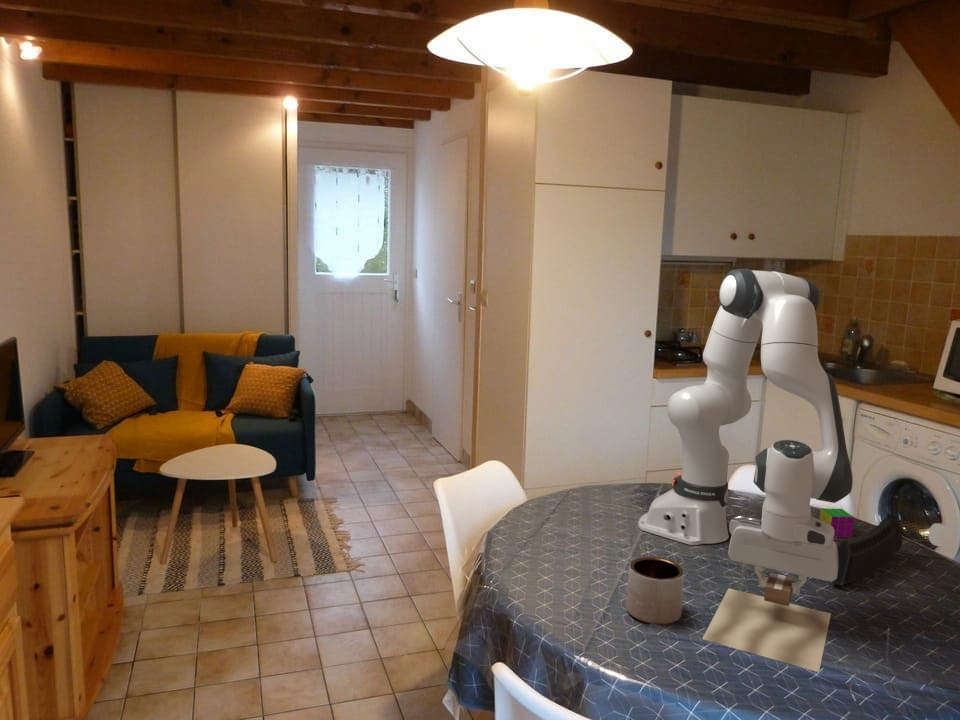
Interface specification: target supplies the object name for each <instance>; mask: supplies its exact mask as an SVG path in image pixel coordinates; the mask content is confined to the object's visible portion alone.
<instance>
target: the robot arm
mask: <svg viewBox="0 0 960 720" xmlns="http://www.w3.org/2000/svg"><path fill="white" fill-rule="evenodd" d="M718 300H719V303H720V306H719V308H718V310H717V313H716V315H715V317H714V319H713V323H712V326H711V329H710V331H709V334H708V337H707V340H706V343H705V346H704V349H703V353H702V361H703V363H704V364H705V365H706V366H707V367H706V368H707V374H706V379H705V381H704V382H703V383H702V384H695V385H690V386H687V387H684V388H682V389H680V390H678V391H676V392H675V393H673V394H672V395H671V396H670V397H669V399H668V402H667V405H666V406H667V407H666V409H667V411H666V412H667V417H668V419H669V421H670V422H671V423H672V425H673V426H674V427H676V429H677V430H678V433H679V436H680V440H681V445H682V461H681V462H682V465H681V471H680V472H677V473H676V474H675V476H674V478H673V480H672V483H671V487H672V489H670V490H668V491H666V492H665V493H663V494H661V495H659V496H657V497H656V498H655V499H653V501H652V502H651V504H650V506H649V507H648V508H649V509H648V512H646V513H644V514H643V515H641V517H640V518H639V519H638V523H637V526H638V528H639V530H641V531H644V532H646V533H650V534H653V535H657V536H660V537H664V538H666V539H670V540H673V541H676V542H680V543H683V544H685V545H686V544H687V545H689V546H698V545H704V544H705V545H707V544H718V543H722V542H726V541H727V540H728V539H729V537H730V535H731V537H730V540H729V546H728V552H727V555H728V557H729V559H730V560H731V561H733V562H737V563H742V564H747V565H752V566H754V572H755V573H756V574H755V575H757V577H758V579H759V582H758V587H760V588H764V589H765V586H766V583H767V581H768V578H769V576H768V577H767V576H765V575H764V573H763V569H764V568H766V569H771V570H774V571H779V572H784V573H788V574H793V575H798V582H797V583H795V582H794V583H792V587H791V594H792V596H793V595H794V596H799V595H800V593H801V592H800V591H801V587H803V586H804V585H805V583H807V580H808V578H812V579H817V580H820V581H821V580H822V581H825V582H826V581H827V582H830V583H832V582H833V581H834V580H835V579H837V576H838V549H837V546H838V545H837V543H836V542H835V541H834V539H835V538H834V534H835V533H834V528H833V527H832V526H831V525H829V524H827V523H824V522H822V521H820V520H819V519H818V518H816V517H814V516H813V515H812V510H811V509H812V508H811V499H814V500H816V501H821V502H822V501H823V502H826V503H827V502H828V503H831V504H834V503H838V502H839V501H841V500H842V499H844V498H846V497H847V496H849V495H850V493H851V492H852V489H853V484H854V476H853V475H854V474H853V469H852V466H851V462H850V459H849V458H850V457H849V454H848V450H847V449H848V448H847V443H846V438H845V437H846V436H845V429H844V423H843V416H842V411H841V405H840V401H839V399H840V398H839V394H838V393H839V392H838V389H837V386H836V382H835V379H834V377H833V375H831V374H829V373H828V372H826V371H825V369H824V367H823V366H822V364H821V361H820V359H819V358H820V357H819V355H818V354H819V353H818V349H819V347H818V346H819V339H818V338H819V337H818V335H819V333H818V332H819V331H818V321H817V315H816V313H817V310H818V308H819V305H820V300H821V295H820V290H819V287H818V285H817V284H816V283H815V282H814V281H812V280H810V279H808V278H806V277H803V276H800V275H799V276H795V275H792V274H787V273H783V272H780V271H766V270H751V269H749V268H738V269H731V270H730V271H728V273H726V275H725V276H724V277H723V279H722V281H721V282H720V285H719V290H718ZM760 335H761V340H760V341H761V343H760V363H761V365H760V366H761V370H762V372H763V375H764V376H765V377H766V379H767V380H768V381H769V382H771V384H773V385H775V386H776V387H778V388H779V389H782V390H783V391H785V392H788V393H790V394H793V395H795V396H797V397H800V398H802V399H803V400H805V401H806V402H808V403H810V404H811V405H812V407H813V408H814V409H815V410H816V413H817V416H818V422H819V428H820V434H821V435H820V436H821V442H822V450H818V451H815V450H813V449H812V447H810V446H809V445H807V444H805V443H804V442H801V441H798V440H792V439H783V440H777V441H775V442H773V443H772V444H771V446H770V447H766V448H764V449H763V450H761V451H760V452H759V453H758V454H757V455H755V470H754V476H753V484H754V485H755V486H756V487H757V488H758V489H759V490H760V491H761V492H762V493H765V497H764V500H763V503H762V509H761V518H757V517H747V516H744V515H737V516H735V517H733V518H731V520H729V526H728V525H727V510H726V505H727V503H728V499H729V498H728V497H729V482H728V470H729V459H730V455H729V454H730V453H729V451H728V449H727V448H726V446H725V445H723V443H722V440H721V437H720V427H723V426H726V425H730V424H734V423H736V422H738V421H739V420H741V419H743V418H744V417H745V416H747V415H748V414H749V412H750V411H751V408H752V396H751V393H750V392H749V390H748V388H747V386H748V384H747V382H748V373H749V368H750V365H751V361H752V359H753V356H754V354H755V353H754V352H755V351H756V350H755V349H756V348H757V344H758V342H759V339H760ZM728 527H729V529H728ZM729 534H730V535H729Z"/></svg>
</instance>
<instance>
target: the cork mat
mask: <svg viewBox="0 0 960 720" xmlns="http://www.w3.org/2000/svg"><path fill="white" fill-rule="evenodd" d="M831 615H832V613H830V612H827V611H822V610H818V609H813V608H811V607H806V606H802V605H799V604H794V603H791V602H790V603H789V606H785V605H781V604H777V603H772V602H768V601H764V596H762V595H758V594H753V593H749V592H745V591H743V590H742V591H741V590H736V589H734V588H728V589H727V590H726V592H725V594H724V596H723V598H722V600H721V602H720V603H719V606H718V608H717V609H716V611H715V613H714V615H713V616H712V619H711V620H710V623H709V625H708V627H707V629H706V631H705V632H704V634H703V636H702V638H701V639H702V640H704V641H708V642H710V643H715V644H718V645H721V646H725V647H728V648H731V649H736V650H739V651H742V652H746V653H750V654H753V655H757V656H760V657H764V658H767V659H771V660H774V661H777V662H781V663H784V664H788V665H792V666H796V667H798V668H799V667H800V668H801V669H802V668H803V669H806V670H809V671H813V672H816V673H820V668H821V664H822V659H823V656H824V655H823V654H824V650H825V645H826V640H827V634H828V630H829V625H830V620H831Z"/></svg>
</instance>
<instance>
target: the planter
mask: <svg viewBox="0 0 960 720" xmlns="http://www.w3.org/2000/svg"><path fill="white" fill-rule="evenodd" d="M628 567H629V568H628V575H627V578H628V579H627V589H626V590H627V591H626V600H625V601H626V602H625V607H626V610H627V612H628V613H629V614H630V615H631V616H632V617H633V618H635V619H636V620H638V621H640V622H642V621H643V622H642V623H645V624H659V625H660V624H664V625H665V624H670V623H674V622H676V621H678V620H680V618H681V616H682V613H683V600H684V597H683V596H684V595H683V594H684V583H685V581H684V580H685V570H684V568H683V567H682V566H681V565H680V564H678V563H677V562H675V561H672V560H670V559H666V558H664V557H658V556H642V557H637V558H634V559H633V560H631V561H630V562H629V565H628Z"/></svg>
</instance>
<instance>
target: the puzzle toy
mask: <svg viewBox="0 0 960 720" xmlns="http://www.w3.org/2000/svg"><path fill="white" fill-rule="evenodd" d="M854 517H855V516H853V515H852V514H850V513H849V512H847V511H846V510H845V509H843V508H825V507H824V508H823V507H822V508H820V511H819V519H818V520H820V521H822V522H824V523H827V524H829V525H831V526H832V527H833V528H834V533H835V534H834V537H836V536H837V537H851V538H852V534H853V524H854ZM837 537H836V538H837Z"/></svg>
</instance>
